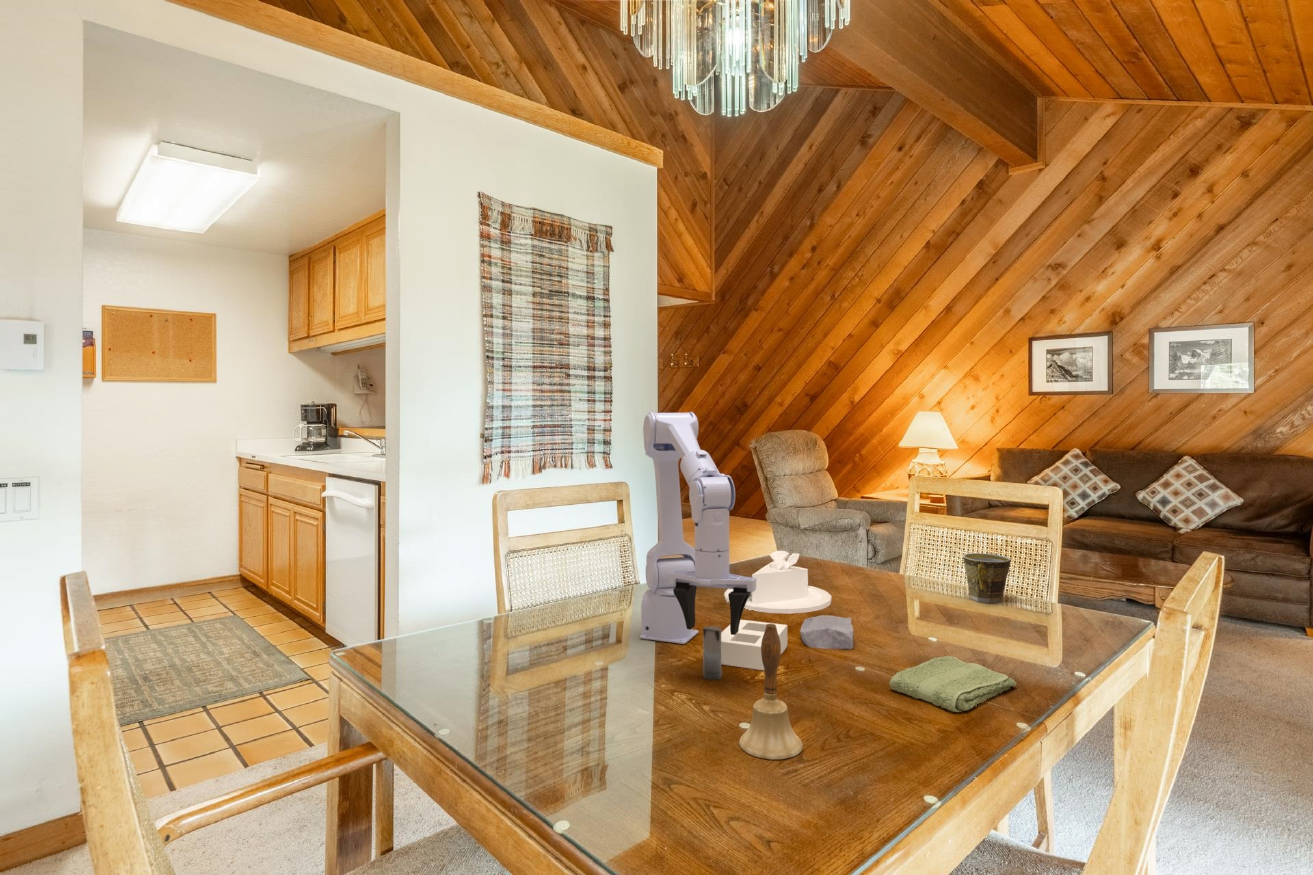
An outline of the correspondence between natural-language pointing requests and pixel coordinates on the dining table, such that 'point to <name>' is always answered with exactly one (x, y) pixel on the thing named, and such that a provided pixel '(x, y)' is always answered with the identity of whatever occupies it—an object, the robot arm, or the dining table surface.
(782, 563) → the dish
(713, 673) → the peg
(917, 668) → the washcloth
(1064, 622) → the dining table surface
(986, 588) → the ceramic cup
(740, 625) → the hole block
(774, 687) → the hand bell
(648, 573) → the robot arm
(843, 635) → the stone block
